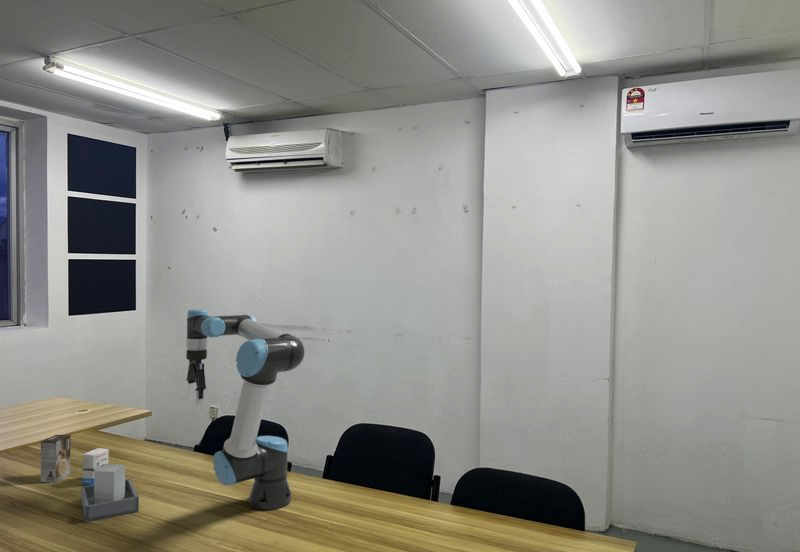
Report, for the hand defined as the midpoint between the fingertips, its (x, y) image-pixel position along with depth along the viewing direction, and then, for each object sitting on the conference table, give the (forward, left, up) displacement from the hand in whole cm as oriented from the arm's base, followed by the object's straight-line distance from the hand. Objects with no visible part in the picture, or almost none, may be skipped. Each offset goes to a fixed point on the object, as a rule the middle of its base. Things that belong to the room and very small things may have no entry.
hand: (195, 403), depth 216 cm
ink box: (+22, +32, -32) cm, 50 cm away
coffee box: (+33, +45, -32) cm, 64 cm away
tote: (-6, +30, -32) cm, 44 cm away
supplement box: (-6, +30, -31) cm, 43 cm away
